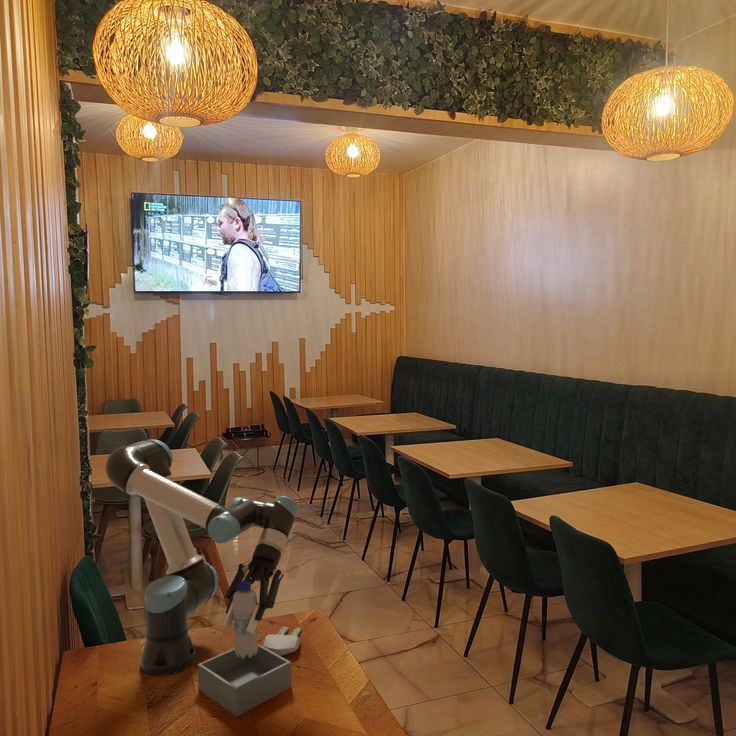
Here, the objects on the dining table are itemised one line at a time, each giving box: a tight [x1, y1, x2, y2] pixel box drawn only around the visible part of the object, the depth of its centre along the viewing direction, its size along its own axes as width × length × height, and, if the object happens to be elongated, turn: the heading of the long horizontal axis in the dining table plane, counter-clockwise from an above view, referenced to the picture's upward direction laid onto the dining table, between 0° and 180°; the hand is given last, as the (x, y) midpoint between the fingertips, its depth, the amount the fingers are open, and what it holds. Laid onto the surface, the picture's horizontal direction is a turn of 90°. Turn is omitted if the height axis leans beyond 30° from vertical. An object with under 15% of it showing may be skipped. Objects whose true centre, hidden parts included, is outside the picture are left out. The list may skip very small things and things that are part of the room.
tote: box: [197, 643, 292, 717], centre depth 171 cm, size 18×18×7 cm
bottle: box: [232, 580, 259, 659], centre depth 170 cm, size 7×7×20 cm
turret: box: [262, 626, 303, 657], centre depth 194 cm, size 10×20×5 cm, turn 174°
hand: (237, 629), depth 166 cm, fingers closed on bottle, 7 cm apart
